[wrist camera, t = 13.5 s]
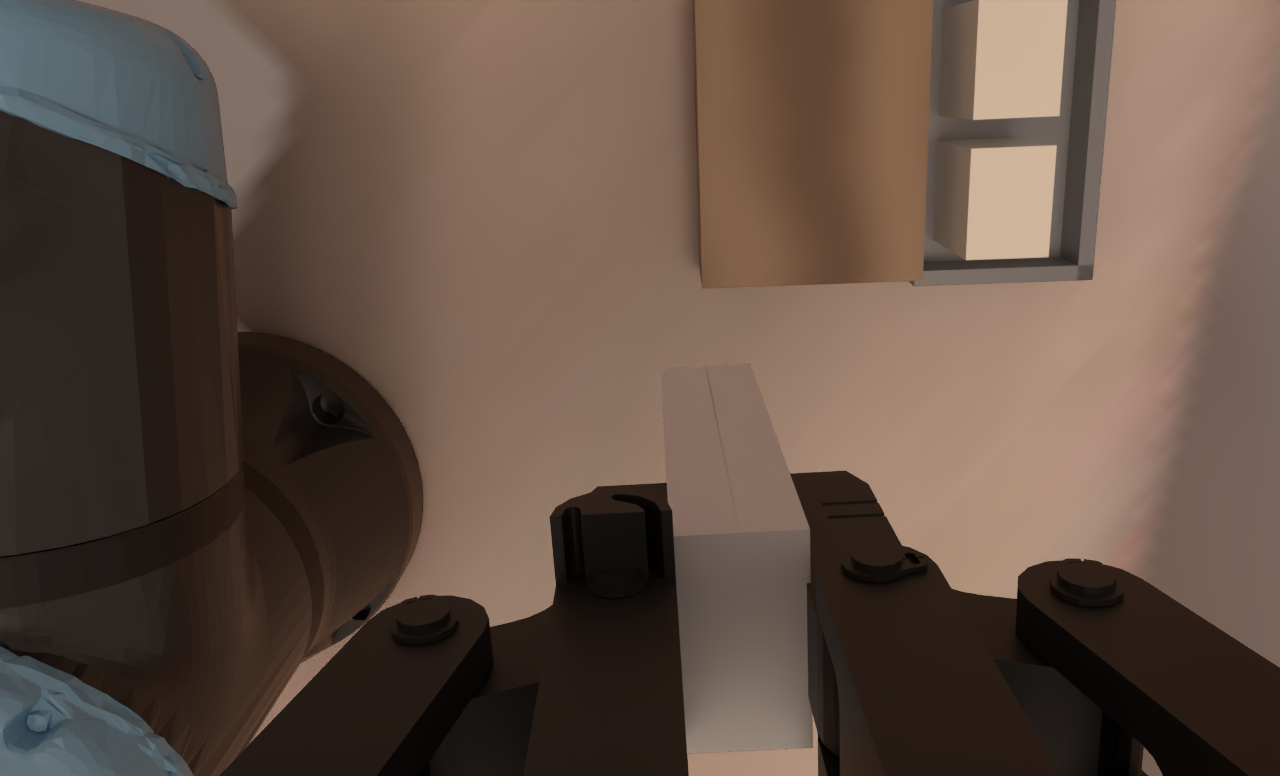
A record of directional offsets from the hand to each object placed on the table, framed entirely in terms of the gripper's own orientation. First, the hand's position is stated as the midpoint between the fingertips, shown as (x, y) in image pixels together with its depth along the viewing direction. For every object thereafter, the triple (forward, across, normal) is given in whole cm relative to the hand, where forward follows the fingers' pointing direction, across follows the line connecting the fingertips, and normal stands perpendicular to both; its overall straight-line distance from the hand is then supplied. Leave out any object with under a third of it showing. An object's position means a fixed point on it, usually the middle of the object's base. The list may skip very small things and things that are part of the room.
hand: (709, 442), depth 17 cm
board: (+27, +5, +4) cm, 27 cm away
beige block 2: (+23, +11, +1) cm, 26 cm away
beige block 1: (+24, +11, +6) cm, 27 cm away
